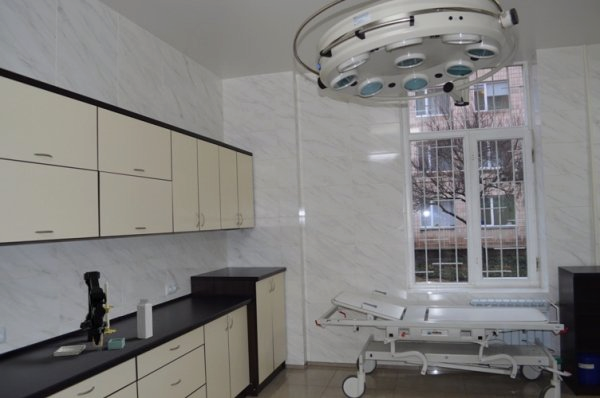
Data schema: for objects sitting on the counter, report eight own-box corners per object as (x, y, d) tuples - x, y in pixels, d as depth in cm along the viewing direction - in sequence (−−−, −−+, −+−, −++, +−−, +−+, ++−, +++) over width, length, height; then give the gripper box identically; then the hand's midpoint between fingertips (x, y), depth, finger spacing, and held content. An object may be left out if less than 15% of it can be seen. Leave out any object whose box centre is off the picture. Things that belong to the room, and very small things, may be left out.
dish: (61, 350, 246) (61, 346, 246) (85, 348, 248) (85, 344, 248) (53, 356, 234) (53, 352, 234) (78, 354, 236) (78, 350, 236)
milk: (144, 335, 271) (143, 298, 272) (152, 336, 269) (151, 298, 270) (137, 338, 265) (136, 300, 266) (145, 338, 263) (144, 300, 264)
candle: (119, 330, 287) (118, 278, 288) (107, 334, 277) (106, 280, 279) (107, 329, 290) (106, 278, 292) (94, 333, 281) (93, 280, 283)
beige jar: (95, 345, 245) (94, 334, 245) (103, 344, 246) (102, 333, 246) (93, 347, 241) (92, 336, 241) (101, 346, 242) (100, 335, 242)
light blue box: (111, 346, 250) (110, 339, 250) (124, 344, 251) (124, 337, 251) (108, 349, 243) (107, 342, 243) (122, 348, 244) (122, 341, 244)
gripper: (86, 312, 252) (86, 341, 251) (76, 319, 234) (76, 350, 233) (107, 310, 254) (108, 339, 253) (99, 317, 236) (99, 348, 235)
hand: (98, 344), depth 244 cm, fingers closed on beige jar, 4 cm apart
